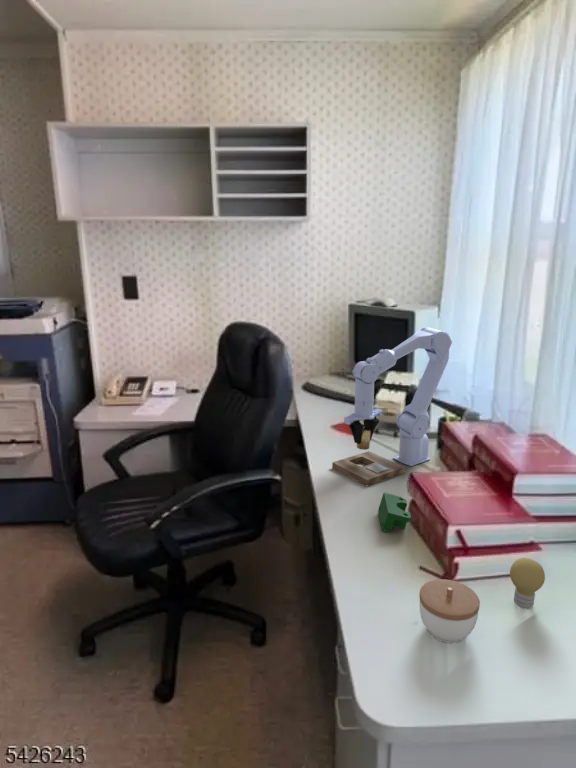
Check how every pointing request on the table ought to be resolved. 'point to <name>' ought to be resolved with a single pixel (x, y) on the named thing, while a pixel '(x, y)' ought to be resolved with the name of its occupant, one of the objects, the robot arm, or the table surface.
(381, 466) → the jig plate
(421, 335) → the robot arm
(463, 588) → the lidded jar
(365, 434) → the brass bushing
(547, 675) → the table surface
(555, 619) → the table surface
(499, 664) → the table surface
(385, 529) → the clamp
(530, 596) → the light bulb
